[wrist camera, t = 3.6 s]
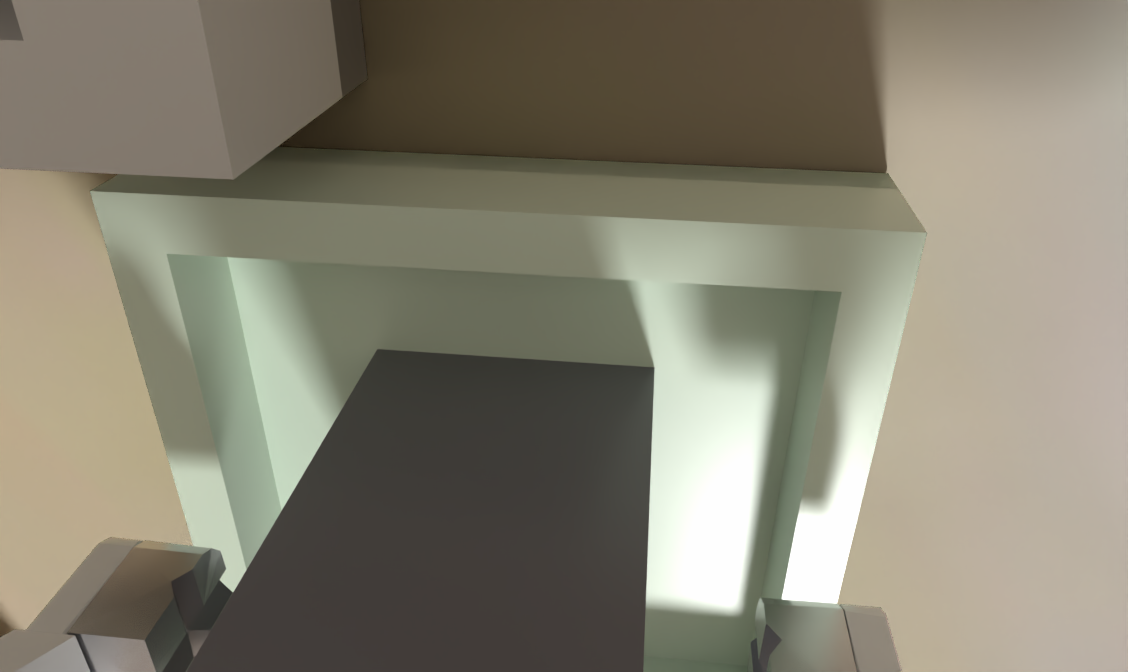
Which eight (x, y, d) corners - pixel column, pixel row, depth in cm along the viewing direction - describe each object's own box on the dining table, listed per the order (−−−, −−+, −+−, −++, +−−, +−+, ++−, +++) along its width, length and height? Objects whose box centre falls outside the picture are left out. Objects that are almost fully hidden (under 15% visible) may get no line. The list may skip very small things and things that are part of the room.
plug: (654, 367, 12) (631, 948, 6) (639, 573, 14) (611, 1168, 8) (377, 349, 13) (65, 873, 6) (402, 551, 15) (188, 1103, 8)
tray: (888, 173, 11) (927, 232, 9) (783, 671, 16) (795, 769, 14) (173, 142, 12) (89, 191, 10) (284, 622, 17) (241, 709, 15)
